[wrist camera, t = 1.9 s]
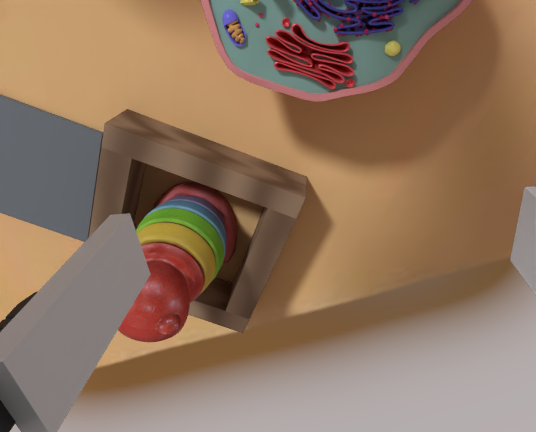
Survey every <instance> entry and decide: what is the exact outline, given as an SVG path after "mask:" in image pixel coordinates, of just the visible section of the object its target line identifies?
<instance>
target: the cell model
mask: <svg viewBox="0 0 536 432" xmlns="http://www.w3.org/2000/svg"><path fill="white" fill-rule="evenodd" d="M471 1H472V0H201V3H202V6H203V9H204V13H205V16H206V19H207V22H208V25H209V28H210V31H211V33H212V36H213V39H214V42H215V45H216V48H217V51H218V53H219V54H220V56H221V58H222V59H223V61H224V62H225V64H226V66H227V67H228V69H230V70H231V71H232V72H233V73H235V74H236V75H237V76H239V77H241V78H243V79H245V80H247V81H249V82H251V83H254V84H257V85H259V86H262V87H265V88H268V89H271V90H274V91H277V92H281V93H284V94H287V95H290V96H293V97H297V98H300V99H303V100H308V101H314V102H318V101H326V100H331V99H335V98H340V97H344V96H350V95H356V94H362V93H367V92H370V91H374V90H377V89H380V88H382V87H385V86H387V85H389V84H391V83H392V82H394V81H395V80H396V79H397V78H399V77H400V75H401V74H402V73H403V72H404V71H405V69H406V68H407V67H408V66H409V64H410V63H411V62H412V60H413V59H414V58H415V57H416V55H417V54H418V53H419V51H420V50H421V49H422V48H423V46H424V45H425V44H426V43H427V42H428V41H429V39H430V38H431V37H432V36H433V35H434V34H436V33H437V32H438V31H440V30H441V29H442V28H443V27H445V26H446V25H447V24H449V23H450V22H451V21H453V20H454V19H455V18H456V17H458V16H459V15H460V14H461V13H462V12H463V11H464V10H465V8H466V7H467V6H468V5H469V4H470V3H471Z"/></svg>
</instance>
